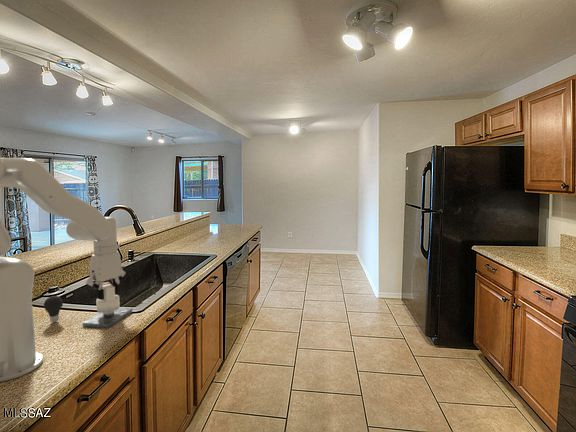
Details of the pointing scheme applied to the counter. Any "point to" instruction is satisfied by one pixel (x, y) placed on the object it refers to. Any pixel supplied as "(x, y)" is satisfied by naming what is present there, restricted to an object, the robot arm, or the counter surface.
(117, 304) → the twist cap
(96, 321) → the plate
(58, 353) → the counter surface
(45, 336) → the counter surface
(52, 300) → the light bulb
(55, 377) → the counter surface
